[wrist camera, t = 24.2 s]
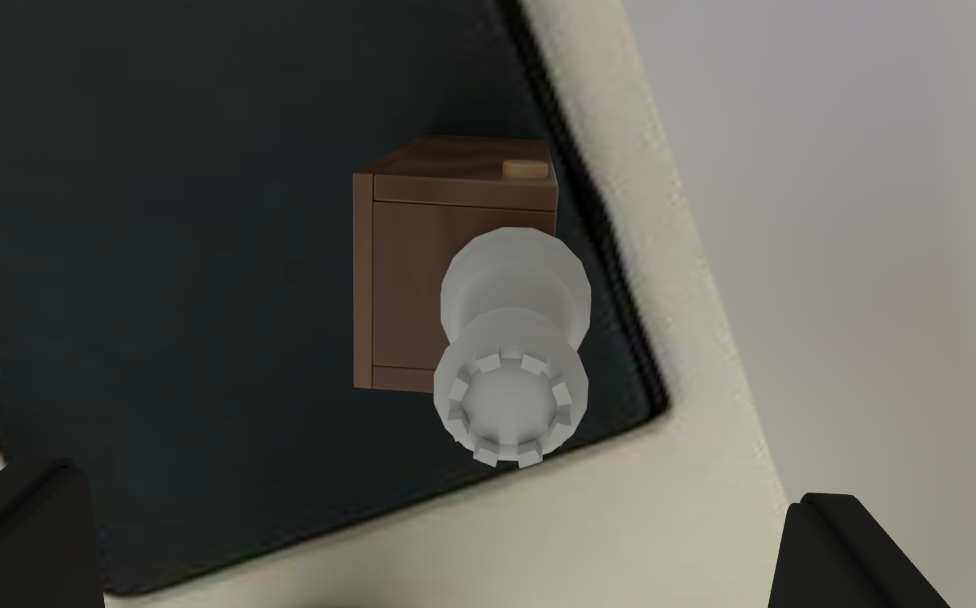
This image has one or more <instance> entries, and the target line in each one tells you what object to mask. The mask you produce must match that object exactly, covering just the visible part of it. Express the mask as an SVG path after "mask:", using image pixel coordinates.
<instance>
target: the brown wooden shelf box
mask: <svg viewBox="0 0 976 608" xmlns="http://www.w3.org/2000/svg"><path fill="white" fill-rule="evenodd" d="M558 192H559V186H558V183H557V179H556V175H555V171H554V168H553V164H552V160H551V156H550V153H549V149H548V145H547V142H546V141H543V140H525V139H507V138H490V137H472V136H454V135H435V134H423V135H421V136H419V137H417V138H416V139H414V140H412V141H410V142H408V143H407V144H405V145H403V146H401V147H399V148H398V149H396V150H394V151H392V152H390V153H389V154H387V155H385V156H383V157H381V158H380V159H378V160H376V161H374V162H372V163H371V164H369V165H367V166H365V167H363V168H362V169H360V170H358V171H356V172H354V173H353V323H354V387H357V388H372V387H373V388H374V389H387V390H401V391H416V392H430V393H434V374H435V371H436V369H437V367H438V365H439V363H440V360H441V358H442V356H443V354H444V351H445V349H446V348H447V347H448V346H449V345H450V342H449V340H448V337H447V335H446V333H445V330H444V328H443V326H442V323H441V291H442V282H443V280H444V278H445V275H446V273H447V271H448V269H449V266H450V264H451V262H452V259H453V258H454V257H455V256H456V255H457V254H458V253H459V252H460V251H461V250H462V249H463V248H464V247H465V246H466V245H467V244H468V243H469V242H471V241H472V240H473V239H474V238H475V237H478V236H480V235H483V234H486V233H488V232H491V231H494V230H496V229H499V228H502V227H515V228H534V229H537V230H539V231H541V232H543V233H546V234H548V235H550V236H552V237H555V230H556V218H557V212H556V210H557V204H558Z"/></svg>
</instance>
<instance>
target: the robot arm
mask: <svg viewBox="0 0 976 608" xmlns="http://www.w3.org/2000/svg"><path fill="white" fill-rule="evenodd" d="M0 608H105V604H104V596H103V588H102V581H101V573H100V565H99V557H98V550H97V542H96V534H95V526H94V519H93V511H92V503H91V496H90V488H89V480H88V476H87V474H86V472H85V471H84V470H82V469H77V468H76V465H75V463H74V462H73V460H72V459H70V458H68V457H55V456H34V455H23V456H20V457H18V458H16V459H14V460H13V461H12V462H11V463H9V464H8V465H7V466H6V467H4V468H3V469H2V470H1V471H0ZM768 608H950V606H949V605H948V604H947V603H946V602H945V601H944V600H943V598H942V597H941V596H940V595H939V594H938V593H937V591H936V590H935V589H934V588H933V587H932V585H931V584H930V583H929V582H928V581H927V580H926V578H925V577H924V576H923V575H922V574H921V573H920V571H919V570H918V569H917V568H916V567H915V566H914V564H913V563H912V562H911V561H910V560H909V559H908V557H907V556H906V555H905V554H904V553H903V552H902V550H901V549H900V548H899V547H898V546H897V545H896V544H895V542H894V541H893V540H892V539H891V538H890V536H889V535H888V534H887V533H886V532H885V531H884V529H883V528H882V527H881V526H880V525H879V524H878V522H877V521H876V520H875V519H874V518H873V517H872V515H870V513H869V512H868V511H867V510H866V508H865V507H864V506H863V505H862V504H861V503H860V501H859V500H858V499H857V498H855V497H854V496H853V495H848V494H828V493H807V494H805V495H804V496H803V497H802V499H801V501H800V503H792V504H791V505H790V506H789V508H788V511H787V514H786V519H785V524H784V529H783V534H782V539H781V544H780V549H779V554H778V559H777V564H776V569H775V574H774V579H773V584H772V589H771V594H770V599H769V604H768Z"/></svg>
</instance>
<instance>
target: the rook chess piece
mask: <svg viewBox="0 0 976 608" xmlns="http://www.w3.org/2000/svg"><path fill="white" fill-rule="evenodd" d="M590 308H591V287H590V285H589V282H588V279H587V276H586V274H585V271H584V268H583V265H582V263H581V261H580V260H579V259H578V258H577V257H576V256H575V255H574V254H573V253H572V252H571V251H570V249H569V248H568V247H567V246H566V245H565V244H564V243H563V242H562V241H561V240H559V239H557V238H555V237H552V236H550V235H548V234H546V233H543V232H541V231H539V230H537V229H534V228H515V227H502V228H499V229H496V230H494V231H491V232H488V233H486V234H483V235H480V236H478V237H475V238H474V239H473V240H472V241H471V242H469V243H468V244H467V245H466V246H465V247H464V248H463V249H462V250H461V251H460V252H459V253H458V254H457V255H456V256H455V257H454V258H453V259H452V262H451V264H450V266H449V269H448V271H447V273H446V275H445V278H444V280H443V282H442V291H441V323H442V326H443V328H444V330H445V333H446V335H447V337H448V340H449V342H450V345H449V346H448V347H447V348H446V349H445V351H444V354H443V356H442V358H441V360H440V363H439V365H438V367H437V369H436V371H435V374H434V404H435V406H436V408H437V411H438V413H439V415H440V417H441V420H442V422H443V424H444V426H445V428H446V429H447V430H448V431H449V432H450V433H451V434H452V435H453V436H454V439H455V441H456V442H457V441H459V442H460V443H461V444H462V445H463V446H464V447H465V448H467V449H469V450H472V451H474V455H473V458H474V459H477V460H479V461H481V462H484V463H486V464H489V465H491V466H493V467H496V463H497V460H513V461H518V462H519V467H520V468H522V467H526V466H529V465H532V464H535V463H538V462H541V461H543V458H542V455H543V454H546V453H549V452H552V451H553V450H554V449H555V448H557V447H558V446H559V445H560V446H561V445H562V443H563V442H564V441H565V440H566V439H568V438H569V437H570V436H571V435H573V434H574V432H575V430H576V428H577V426H578V424H579V422H580V420H581V418H582V417H583V415H584V413H585V411H586V409H587V395H588V378H587V376H586V373H585V371H584V368H583V365H582V363H581V360H580V357H579V355H578V353H577V350H578V348H579V346H580V344H581V342H582V340H583V338H584V336H585V334H586V332H587V330H588V328H589V324H590Z"/></svg>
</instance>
